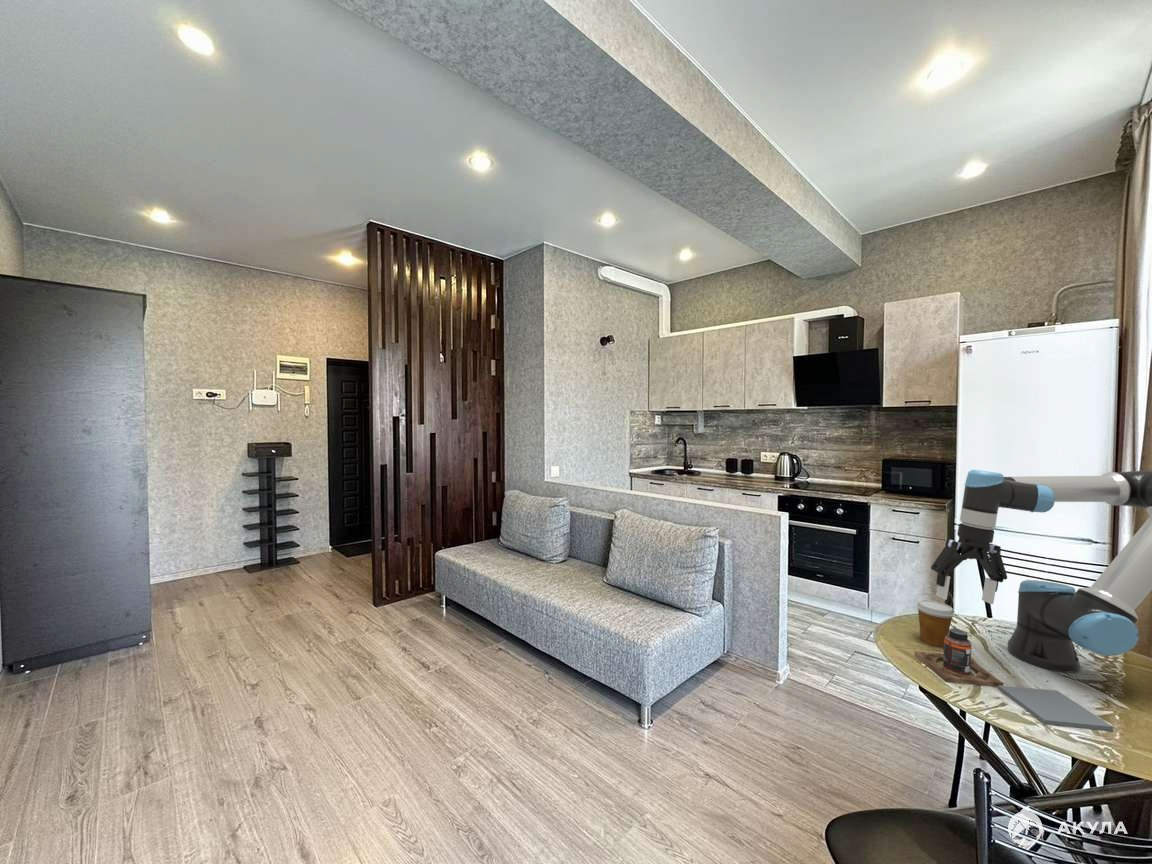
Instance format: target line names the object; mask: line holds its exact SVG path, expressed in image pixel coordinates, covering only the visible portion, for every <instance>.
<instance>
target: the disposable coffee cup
mask: <svg viewBox="0 0 1152 864" xmlns="http://www.w3.org/2000/svg"><path fill="white" fill-rule="evenodd" d="M915 606H916V608H917V611H918V612H917V613H918V622H919V634H920V640H921V641H922V642H923V643H925V644H927V645H930V646H933V647H937V648H944V639H945V636H947V635H949V629H951V628H950V627H951V623H952V620H953V617H954V616H955V612H954V611H953V608H952V606H950V605H948V604H946V603H943V602H939V601H935V600H931V599H920V600H918V601H917V603H916V605H915Z"/></svg>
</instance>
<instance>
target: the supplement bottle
mask: <svg viewBox="0 0 1152 864" xmlns="http://www.w3.org/2000/svg"><path fill="white" fill-rule="evenodd" d="M968 635H969V633H968V632H967V631H965V630H963V629H960V628H954V627H951V628H950V629H949V633H948V635H947V636H945V639H944V647H943V654H944V655H943V662H942V665H943V666H942V667H943V668H944V669H947V670H950V671H953V672H955V673H958V674H962V675H970V673H971V669H970V666H971V660H972V658H971V657H972V642H971V641H970V640H969V639H968V637H969V636H968Z"/></svg>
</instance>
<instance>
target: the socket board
mask: <svg viewBox="0 0 1152 864" xmlns="http://www.w3.org/2000/svg"><path fill="white" fill-rule="evenodd" d="M943 655H944V653H940V652H939V653H938V652H928V651H927V652H926V651H914V656H915V657H916V658H917V659H919V661H921V662H922V663H923V664H924V665H925V666H927V668H929V669H930V670H931V671H932V672H933V673H934V674H936V675H937V676H938V677H939V678H940V679H942V680H943V682H945V683H952V684H963V685H973V686H974V685H976V686H984V687H985V686H986V687H994V688H998V685H1002V686H1004V682H1003V681H1002V680H1000V679H999V678H997V677H996V676H995V675H994V674H992V673H991V672H989V671H988V670H986V669H985V668H984V667H982V666H981V665H980V664H978V663H977V662H975V661H974V660H973V659H971V666H970V671H972V672H973V673H975V675H970V674H968V675H962V674H958V673H955V672H953V671H950V670H947V669H945V668H944V666H942V665H940V664H939V662H942V661H943Z"/></svg>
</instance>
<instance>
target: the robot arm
mask: <svg viewBox="0 0 1152 864" xmlns="http://www.w3.org/2000/svg"><path fill="white" fill-rule="evenodd" d="M962 496H963V498H962V503H961V504H962V506H961V510H960V517H959V521H960V523H959V524H958V528H957V534H956V535H957V536H958V540H957V541H955V540H953V539H950V538H947V539H946V542H945V546H944V548H943V549H942V550H941V552H940V553H939V555H938V556H937V558H936V559H935V560H934V562H933V563H932V565H931V566H930V569H931V570H933V571H934V572H935V573H936V574H937V576H936V582H935V583H936V585H937V588H936V594H935V596H937V597H938V598H941V599H942V600H944V601H945V600H948V595H949V594H948V593H949V587H950V582H951V581H950V580H951V576H949V574H951V572H953V571H954V570H955V569H956V568H957V567H958V566H959V565H961V563H962V562H963V561H966V560H976V561H979V563H980V564H981V566H982V568H983V570H984V572H985V573H986V575H987V576H988V577H984V578H985V579H984V585H983V590H982V597H981V600H982V601H984V602H985V603H988V604H990V605H994V603H995V602H994V601H995V597H996V592H997V591H998V588H999V583H1003V582H1004V580H1006V581H1007V579H1008V575H1007V571H1006V568H1005V564H1004V562H1003V561H1004V560H1003V558H1002V555H1001V554H1002V552H1001V551H1002V549H1001V546H999V545H997V544H993V541H994V537H995V536H994V535H995V531H994V528H996V525H997V518H998V513H999V508H1001V509H1002V508H1003V509H1011V510H1017V511H1025V512H1030V513H1042V514H1043V513H1047V512H1049V511H1051V509H1053V507H1054V506H1055V502H1056V503H1057V502H1058V503H1059V502H1060V503H1065V502H1066V503H1105V504H1107V505H1110V506H1125V507H1133V508H1138V509H1144V510H1146V512H1147V514H1148V515H1149V517H1148V518H1147V519H1146V521H1144V523H1143V524H1142V526H1141V527H1140V528H1139V529H1138V530H1137V531H1136V533H1135V534H1134V535H1133V536H1132V537H1131V538H1130V540H1129V541H1128V542H1127V543H1126V545H1125V546H1124V547H1123V548H1122V549H1121V551H1119V552H1118V554H1117V555H1116V556H1115V557H1114V559H1113V560H1112V561H1111V562H1110V563H1109V564H1108V566H1107V567H1106V568H1105V569H1104V570H1103V572H1102V573H1101V574H1100V575H1099V577H1098V578H1097V579H1096V580H1095V581H1094V582H1093V583H1092V585H1091V586H1089V587H1079V588H1078V589H1077V590H1076V588H1075V587H1073V586H1070V585H1068V584H1062V583H1057V582H1052V581H1045V580H1035V579H1025V580H1022V581H1021V582H1020V584H1019V588H1018V591H1017V593H1018V601H1017V602H1018V603H1017V615H1016V616H1017V617H1016V618H1017V619H1016V626H1015V629H1014V631H1013V632H1012V634H1011V637H1010V638H1009V639H1008V641H1007V647H1006V648H1007V649H1006V650H1007V651H1008V652H1009V653H1010V654H1011V655H1012V656H1014V657H1015V658H1017V659H1019V660H1021V661H1023V662H1026V663H1029V664H1031V665H1033V666H1037V667H1040V668H1043V669H1044V668H1045V669H1047V670H1052V671H1057V672H1063V673H1074V672H1078V671H1079V669H1080V659H1079V657H1078V654H1077V650H1076V648H1075V645H1077V646H1079V647H1080V648H1082V649H1084V650H1085V649H1086V650H1088V651H1090V652H1091V653H1095V654H1098V655H1101V656H1118V655H1123V654H1126V653H1128V652H1129V651H1131V650H1132V649H1133V648H1134V647H1135V646H1136V645H1137V643H1138V641H1139V638H1140V636H1139V635H1138V634H1139V630H1138V628H1137V626H1136V625H1135V624H1136V622H1138V620H1139V616H1138V615H1137V613H1136V609H1137V608H1138V606H1139V605H1141V603H1142V602H1143V601H1144V600H1145V598H1146V597H1148V595H1149V594H1150V593H1151V592H1152V469H1150V470H1135V471H1134V470H1131V471H1113V472H1112V471H1108V472H1104V473H1103V474H1101V475H1057V476H1055V475H1053V476H1052V475H1049V476H1047V475H1046V476H1045V475H1043V476H1040V475H1039V476H1033V475H1032V476H1031V475H1030V476H1028V475H1027V476H1004V475H1003V473H1000V472H995V471H988V470H987V471H986V470H979V469H971V470H969V471H968V472H967V476H966V479H965V483H964V490H963V495H962ZM1074 644H1075V645H1074Z"/></svg>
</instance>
